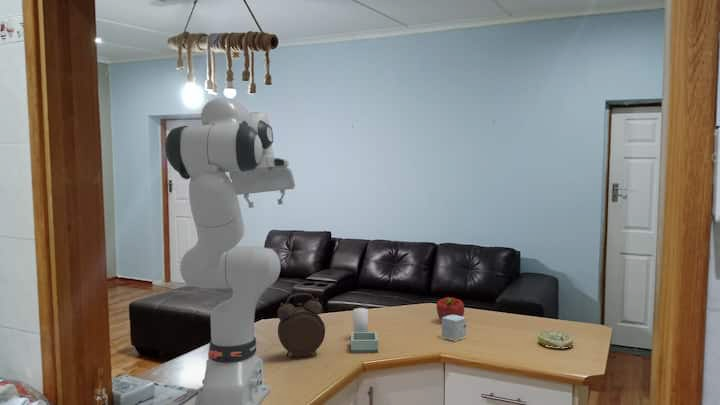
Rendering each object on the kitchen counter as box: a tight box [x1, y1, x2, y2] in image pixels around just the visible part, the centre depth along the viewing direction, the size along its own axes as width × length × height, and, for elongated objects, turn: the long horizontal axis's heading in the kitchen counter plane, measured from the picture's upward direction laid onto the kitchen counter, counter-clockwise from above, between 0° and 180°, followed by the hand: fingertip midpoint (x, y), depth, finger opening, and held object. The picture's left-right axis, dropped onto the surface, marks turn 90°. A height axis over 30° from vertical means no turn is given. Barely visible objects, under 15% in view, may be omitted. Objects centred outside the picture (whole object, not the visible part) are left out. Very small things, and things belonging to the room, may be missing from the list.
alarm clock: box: [276, 292, 326, 359], centre depth 165 cm, size 14×7×20 cm, turn 111°
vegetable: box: [436, 296, 465, 322], centre depth 198 cm, size 11×10×10 cm
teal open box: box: [350, 331, 379, 354], centre depth 172 cm, size 9×9×4 cm
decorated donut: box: [537, 330, 574, 348], centre depth 173 cm, size 10×11×4 cm
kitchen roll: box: [352, 307, 369, 332], centre depth 181 cm, size 5×5×10 cm
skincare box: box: [441, 314, 467, 340], centre depth 181 cm, size 6×6×7 cm
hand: (265, 206), depth 171 cm, fingers open, 8 cm apart
